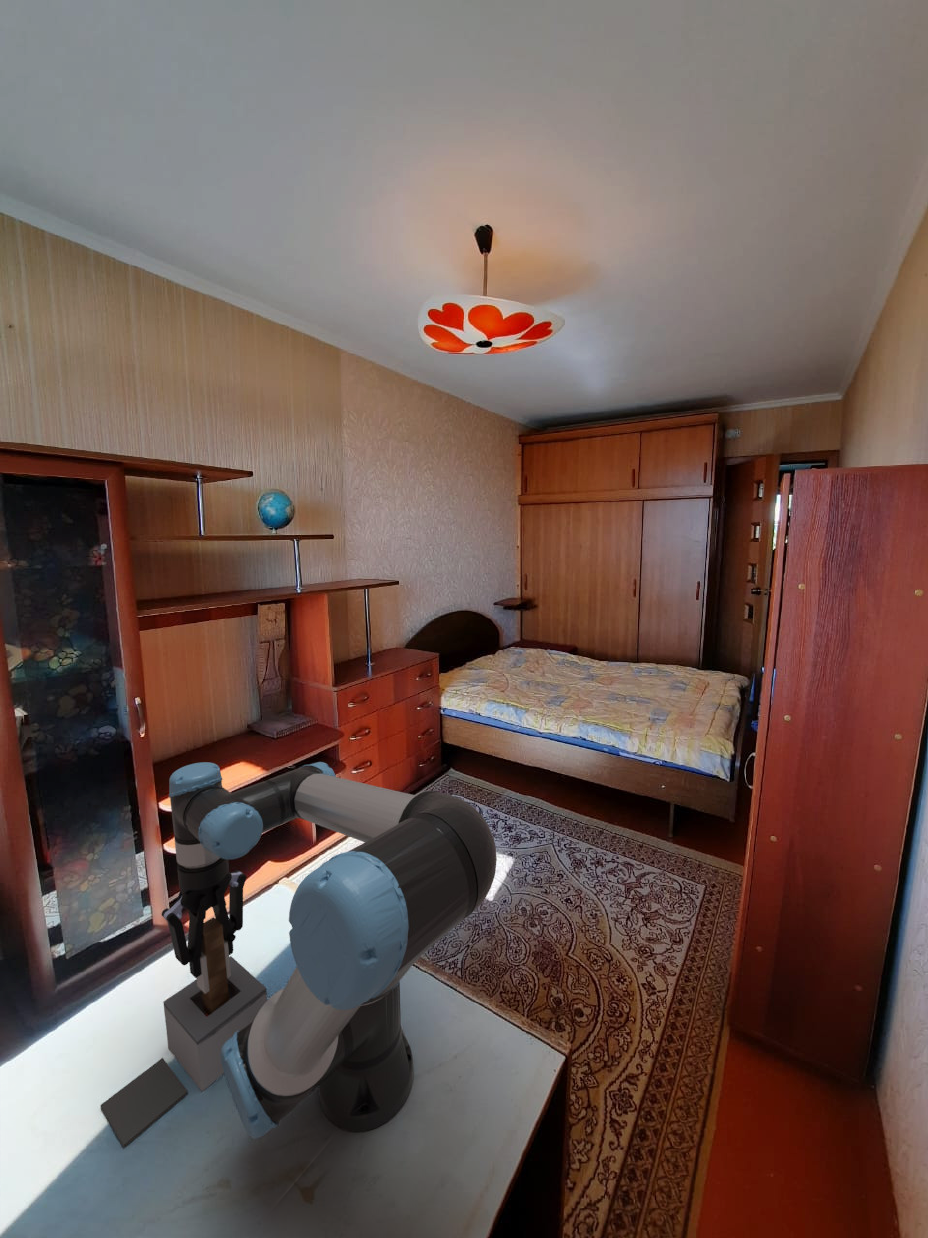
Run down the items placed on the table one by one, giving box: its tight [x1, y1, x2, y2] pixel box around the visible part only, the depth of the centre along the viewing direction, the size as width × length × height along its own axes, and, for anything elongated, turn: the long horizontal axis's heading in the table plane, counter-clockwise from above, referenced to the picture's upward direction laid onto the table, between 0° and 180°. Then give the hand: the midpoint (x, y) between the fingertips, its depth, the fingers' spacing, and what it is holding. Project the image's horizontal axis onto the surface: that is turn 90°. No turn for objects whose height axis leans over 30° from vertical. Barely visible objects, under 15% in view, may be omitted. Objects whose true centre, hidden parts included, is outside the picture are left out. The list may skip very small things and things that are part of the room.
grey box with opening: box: [162, 955, 268, 1092], centre depth 87 cm, size 12×12×9 cm
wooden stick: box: [202, 916, 229, 1015], centre depth 86 cm, size 3×3×16 cm
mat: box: [100, 1057, 189, 1149], centre depth 78 cm, size 9×9×1 cm
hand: (214, 980), depth 86 cm, fingers closed on wooden stick, 3 cm apart
